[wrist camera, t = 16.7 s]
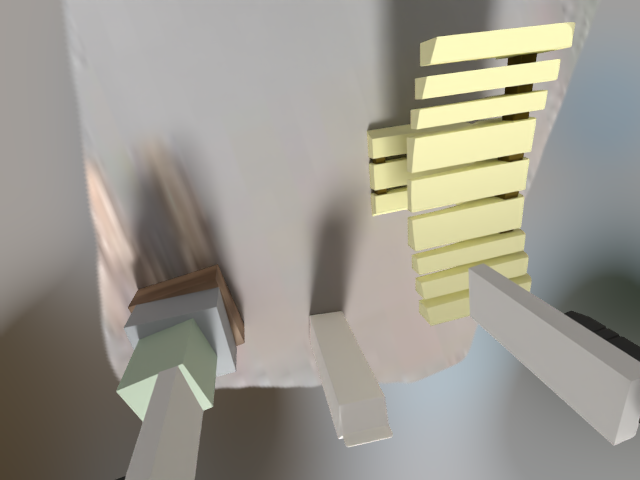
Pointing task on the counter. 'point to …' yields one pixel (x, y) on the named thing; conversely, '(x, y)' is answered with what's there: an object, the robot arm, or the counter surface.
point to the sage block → (170, 365)
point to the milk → (348, 381)
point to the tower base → (192, 284)
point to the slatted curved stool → (466, 162)
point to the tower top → (182, 308)
